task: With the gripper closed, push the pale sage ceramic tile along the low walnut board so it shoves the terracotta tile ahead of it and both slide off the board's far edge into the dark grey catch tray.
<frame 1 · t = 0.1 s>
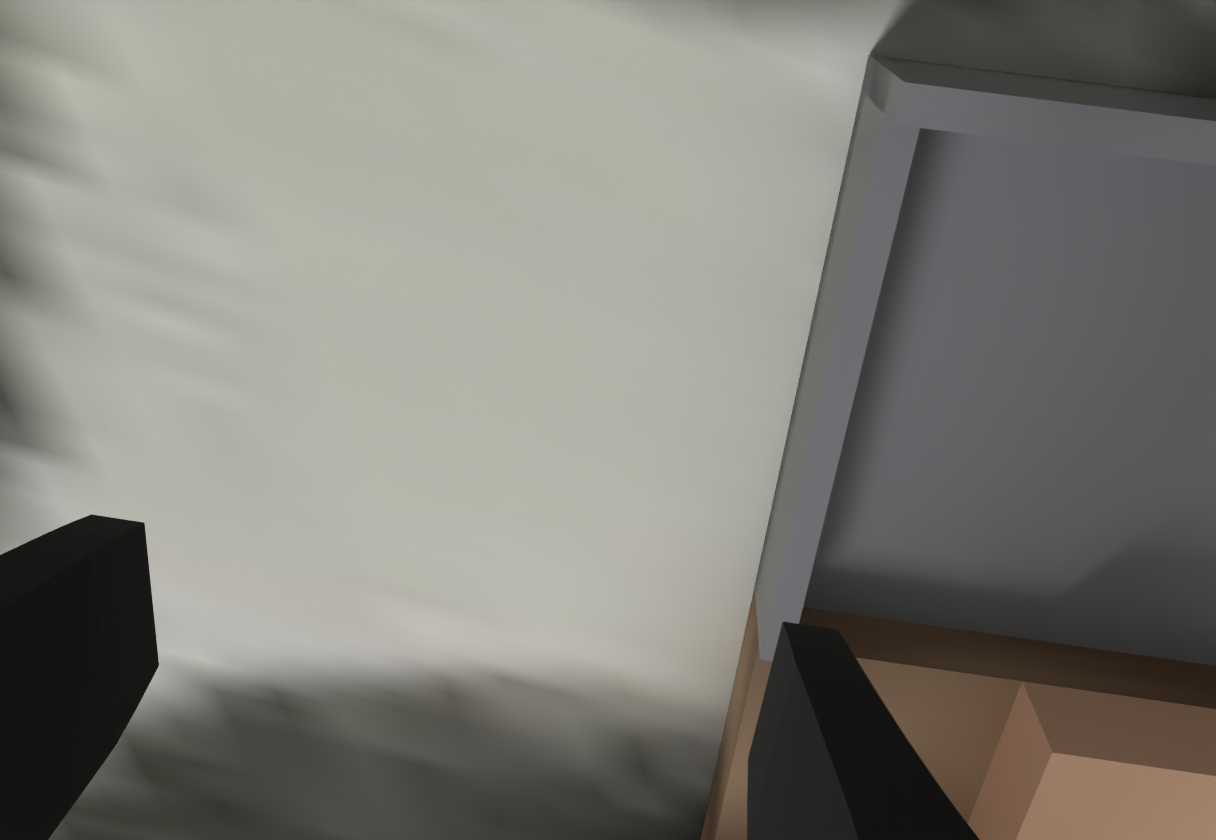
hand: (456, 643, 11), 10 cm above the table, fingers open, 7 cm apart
tile terracotta: (1103, 785, 22), point 2 cm above the table, touching walnut board
catch tray: (1204, 409, 20), on the table
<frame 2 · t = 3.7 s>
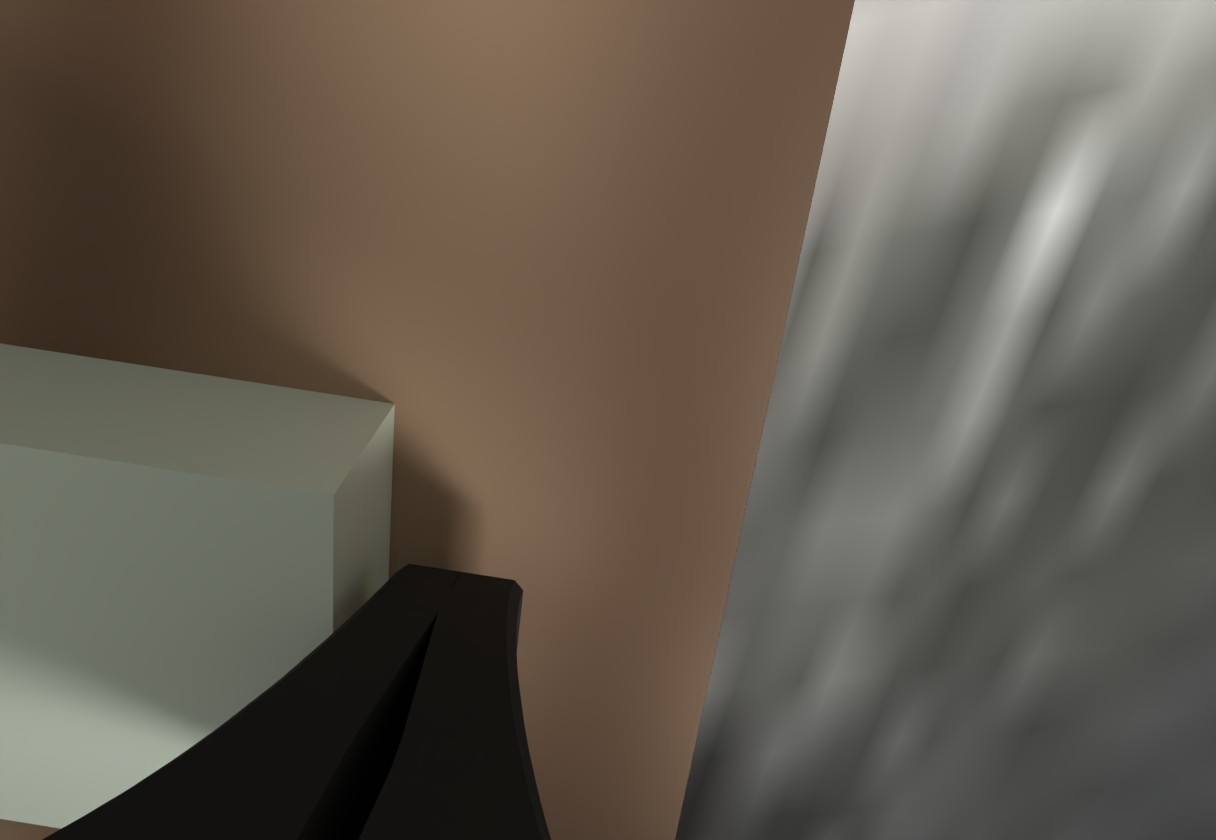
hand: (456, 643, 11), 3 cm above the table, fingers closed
walnut board: (217, 472, 14), on the table
tile sage: (184, 558, 12), point 2 cm above the table, touching gripper, tile terracotta, walnut board
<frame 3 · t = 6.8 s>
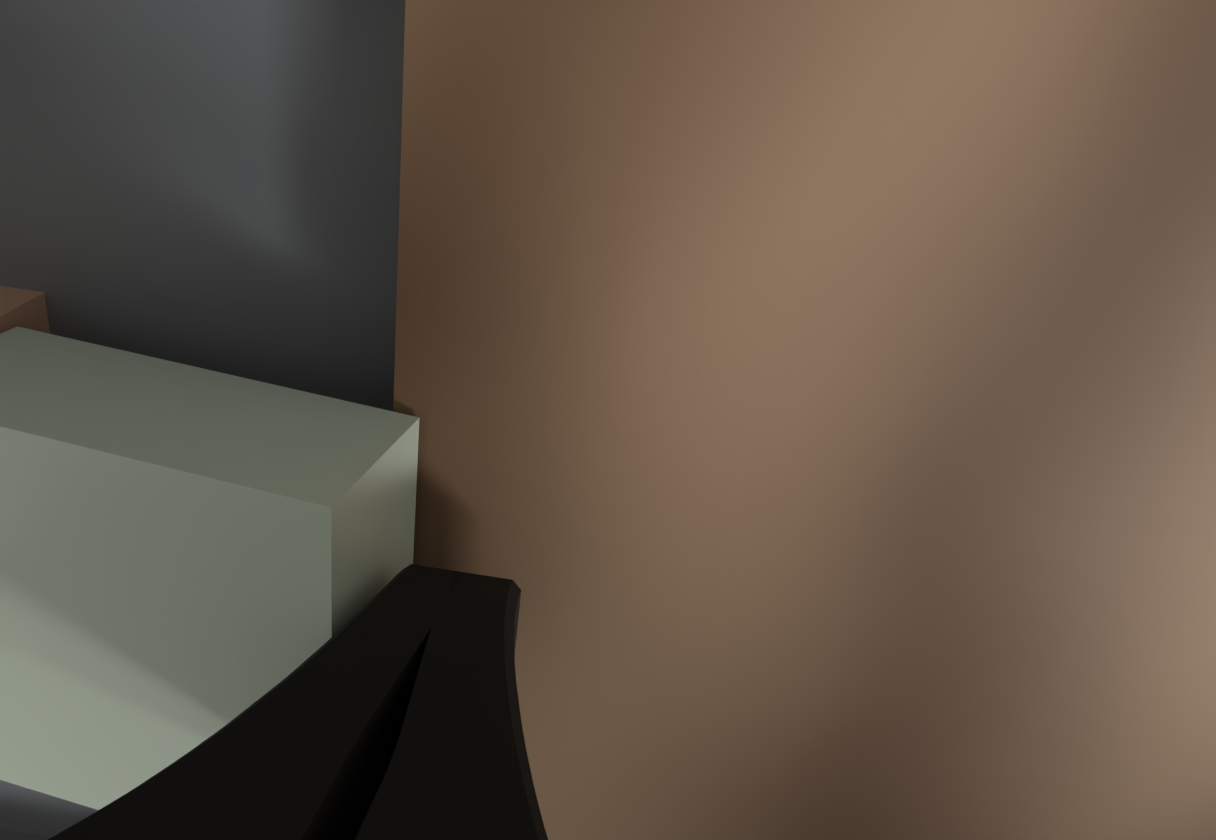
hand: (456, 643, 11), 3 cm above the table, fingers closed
walnut board: (934, 579, 14), on the table
catch tray: (23, 440, 14), on the table
tile sage: (222, 554, 12), point 2 cm above the table, tilted 9°, touching gripper, tile terracotta
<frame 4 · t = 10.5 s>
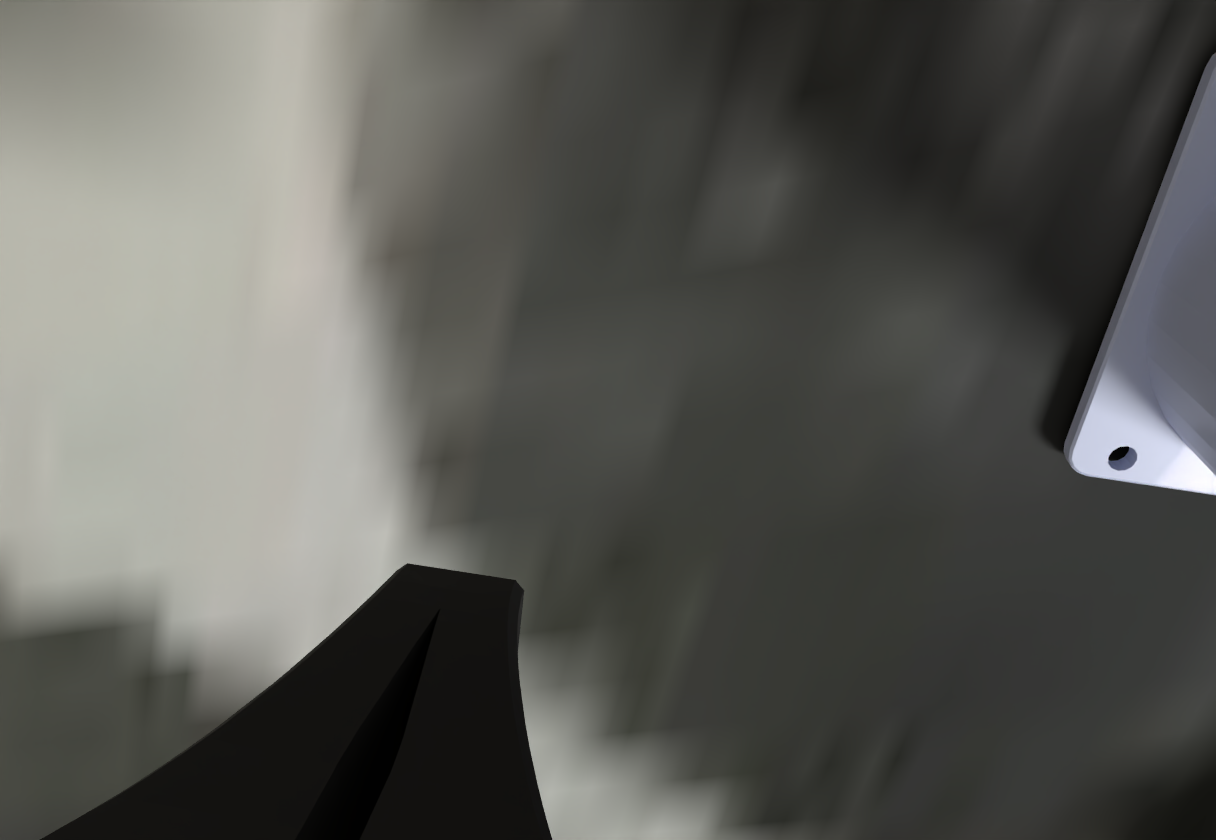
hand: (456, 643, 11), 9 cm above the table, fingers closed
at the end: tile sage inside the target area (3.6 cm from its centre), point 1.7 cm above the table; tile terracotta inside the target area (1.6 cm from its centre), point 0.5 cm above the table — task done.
